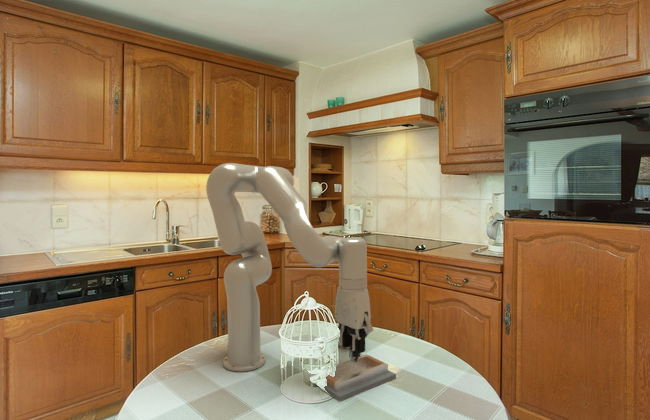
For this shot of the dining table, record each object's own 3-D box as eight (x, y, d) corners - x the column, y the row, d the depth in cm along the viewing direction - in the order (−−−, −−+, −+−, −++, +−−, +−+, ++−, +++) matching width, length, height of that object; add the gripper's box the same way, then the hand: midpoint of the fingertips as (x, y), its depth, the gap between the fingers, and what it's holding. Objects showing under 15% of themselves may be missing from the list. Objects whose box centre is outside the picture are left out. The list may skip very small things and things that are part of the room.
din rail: (316, 378, 106) (316, 370, 106) (366, 361, 117) (366, 354, 117) (337, 392, 99) (337, 383, 99) (388, 372, 110) (388, 364, 110)
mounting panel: (309, 381, 107) (309, 377, 107) (363, 362, 119) (363, 358, 119) (339, 401, 97) (339, 396, 97) (395, 378, 109) (395, 373, 109)
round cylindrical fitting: (362, 366, 104) (363, 329, 103) (342, 363, 105) (343, 326, 105) (365, 355, 110) (366, 320, 110) (347, 353, 112) (348, 318, 111)
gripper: (323, 280, 111) (324, 343, 112) (364, 291, 98) (364, 363, 99) (343, 276, 116) (344, 337, 117) (385, 287, 102) (385, 356, 103)
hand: (353, 348), depth 108 cm, fingers closed on round cylindrical fitting, 4 cm apart
